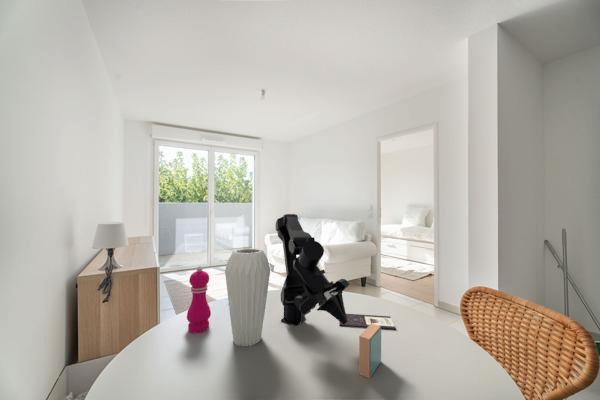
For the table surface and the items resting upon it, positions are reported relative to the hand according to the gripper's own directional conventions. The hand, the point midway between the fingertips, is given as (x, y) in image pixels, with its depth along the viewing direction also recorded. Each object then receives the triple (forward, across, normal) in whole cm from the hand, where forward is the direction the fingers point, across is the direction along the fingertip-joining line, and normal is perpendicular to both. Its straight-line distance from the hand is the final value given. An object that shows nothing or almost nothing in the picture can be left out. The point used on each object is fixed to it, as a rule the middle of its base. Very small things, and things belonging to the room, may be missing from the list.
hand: (345, 323), depth 67 cm
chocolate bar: (+4, -24, -10) cm, 26 cm away
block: (+11, 0, -2) cm, 11 cm away
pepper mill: (-26, +14, -39) cm, 48 cm away
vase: (-13, +9, -26) cm, 31 cm away
